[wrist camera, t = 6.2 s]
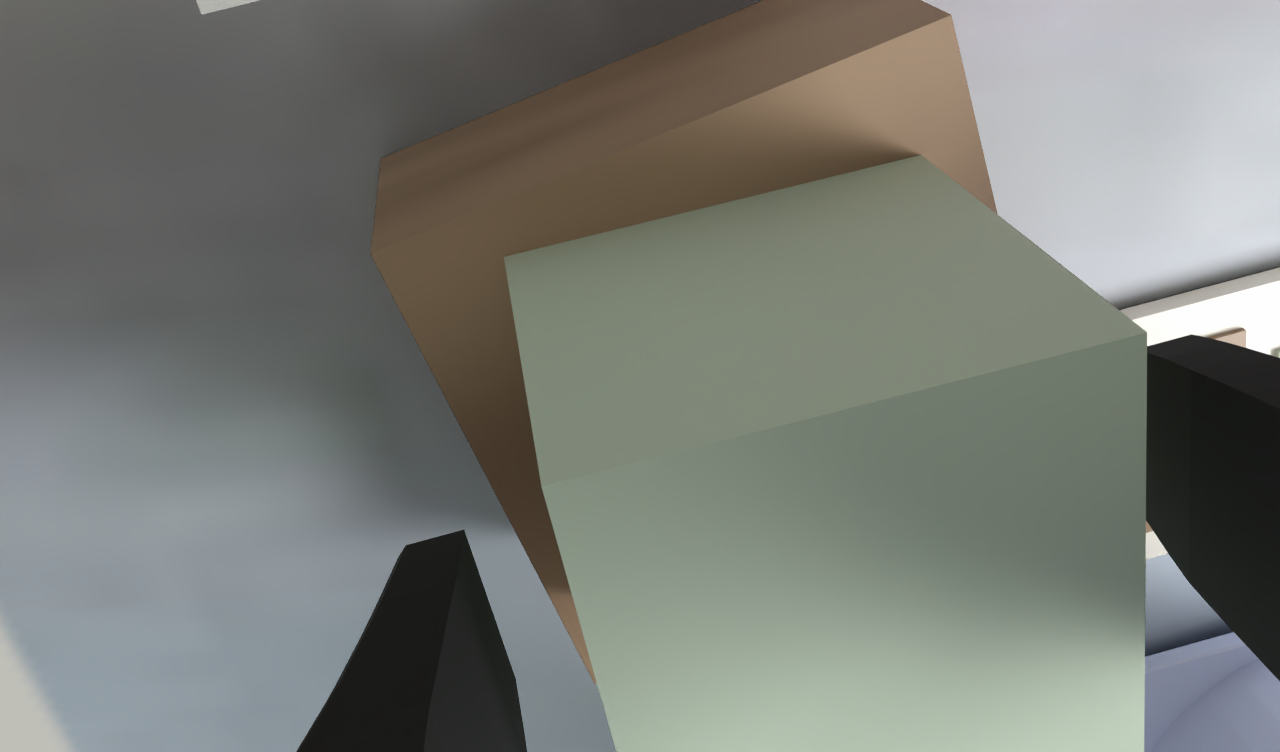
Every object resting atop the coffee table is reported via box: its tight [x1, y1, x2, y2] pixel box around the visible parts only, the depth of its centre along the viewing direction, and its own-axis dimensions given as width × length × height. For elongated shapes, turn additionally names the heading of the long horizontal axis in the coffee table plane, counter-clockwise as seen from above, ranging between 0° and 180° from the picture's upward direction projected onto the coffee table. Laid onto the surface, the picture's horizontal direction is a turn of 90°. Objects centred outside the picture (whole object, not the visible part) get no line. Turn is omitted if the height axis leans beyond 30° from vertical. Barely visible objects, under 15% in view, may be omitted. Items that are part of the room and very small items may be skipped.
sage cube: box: [504, 155, 1147, 752], centre depth 13 cm, size 5×5×5 cm
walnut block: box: [370, 0, 997, 684], centre depth 17 cm, size 7×7×4 cm
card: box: [1119, 267, 1280, 560], centre depth 21 cm, size 5×7×1 cm
